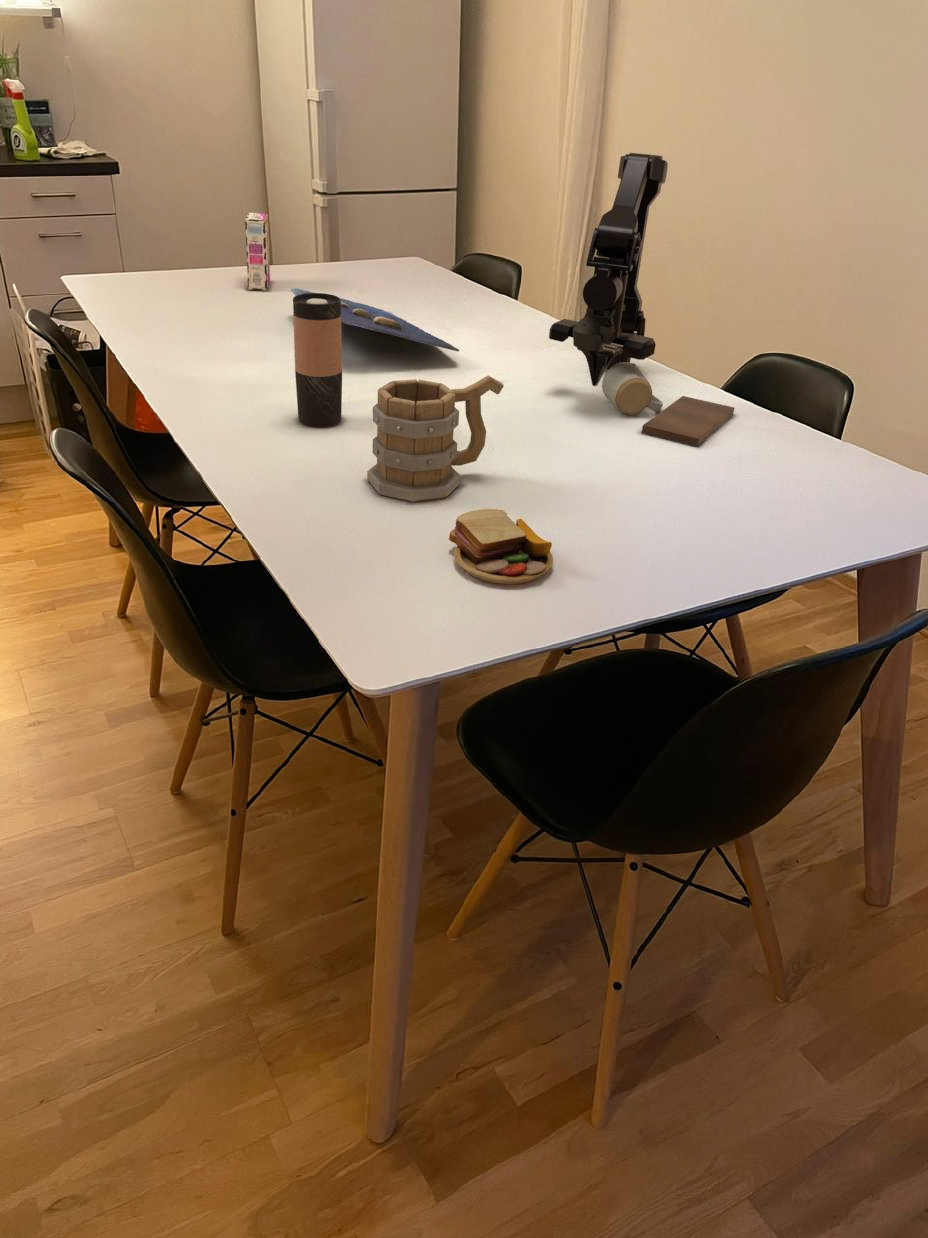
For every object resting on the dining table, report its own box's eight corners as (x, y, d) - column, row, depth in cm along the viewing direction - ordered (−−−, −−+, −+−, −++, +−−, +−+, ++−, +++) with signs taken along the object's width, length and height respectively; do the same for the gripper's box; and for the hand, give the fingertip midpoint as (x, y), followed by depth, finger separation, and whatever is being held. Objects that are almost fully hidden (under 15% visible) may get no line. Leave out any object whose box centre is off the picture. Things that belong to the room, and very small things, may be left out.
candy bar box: (268, 291, 235) (265, 220, 226) (247, 290, 234) (243, 219, 225) (271, 281, 244) (268, 212, 235) (251, 280, 243) (247, 211, 235)
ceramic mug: (612, 417, 170) (619, 374, 166) (598, 401, 177) (604, 360, 173) (668, 417, 172) (676, 375, 168) (652, 402, 179) (659, 361, 175)
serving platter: (269, 327, 215) (280, 275, 211) (379, 353, 229) (391, 305, 225) (331, 374, 180) (345, 313, 176) (457, 401, 193) (473, 345, 189)
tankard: (387, 505, 133) (389, 401, 125) (359, 471, 143) (359, 372, 135) (515, 489, 141) (524, 390, 133) (480, 457, 150) (486, 363, 143)
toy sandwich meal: (479, 595, 114) (481, 559, 111) (435, 545, 124) (437, 512, 121) (570, 578, 118) (574, 544, 116) (521, 532, 129) (524, 500, 126)
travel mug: (350, 416, 163) (349, 296, 152) (330, 431, 156) (328, 306, 146) (309, 409, 165) (306, 290, 154) (288, 423, 158) (283, 300, 148)
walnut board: (681, 403, 179) (682, 395, 178) (733, 415, 175) (734, 407, 174) (641, 433, 164) (642, 424, 163) (697, 446, 160) (698, 438, 159)
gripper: (539, 296, 166) (530, 384, 174) (638, 317, 158) (623, 408, 166) (568, 286, 174) (557, 370, 182) (663, 306, 167) (648, 393, 175)
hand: (594, 385), depth 176 cm, fingers closed
